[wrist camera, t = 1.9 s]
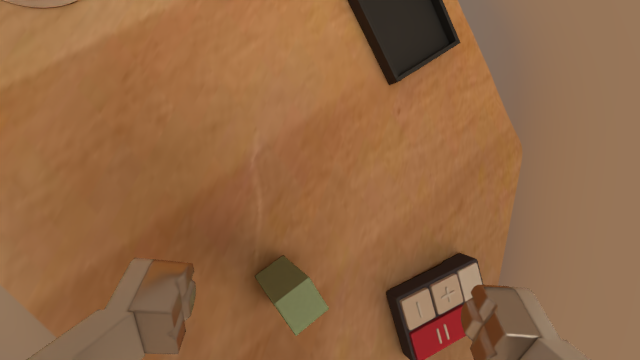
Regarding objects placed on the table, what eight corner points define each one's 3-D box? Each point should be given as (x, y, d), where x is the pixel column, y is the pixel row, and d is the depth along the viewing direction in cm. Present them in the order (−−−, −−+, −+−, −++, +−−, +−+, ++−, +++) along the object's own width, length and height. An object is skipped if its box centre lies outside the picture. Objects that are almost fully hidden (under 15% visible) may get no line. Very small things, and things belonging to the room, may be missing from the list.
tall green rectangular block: (254, 276, 46) (274, 303, 37) (283, 255, 48) (309, 276, 39) (272, 302, 48) (296, 336, 38) (299, 281, 49) (329, 309, 40)
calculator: (398, 300, 50) (480, 259, 55) (383, 290, 55) (461, 252, 59) (417, 368, 52) (496, 322, 57) (401, 353, 56) (476, 311, 61)
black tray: (343, -9, 50) (350, -16, 48) (412, -43, 54) (421, -51, 52) (389, 85, 53) (397, 82, 51) (450, 46, 57) (460, 42, 55)
